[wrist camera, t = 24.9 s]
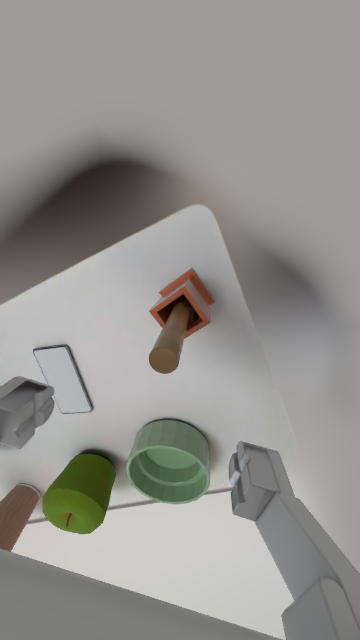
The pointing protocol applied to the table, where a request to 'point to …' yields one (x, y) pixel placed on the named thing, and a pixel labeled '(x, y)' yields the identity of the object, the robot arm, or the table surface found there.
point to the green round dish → (170, 462)
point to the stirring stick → (171, 338)
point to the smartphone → (63, 379)
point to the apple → (80, 494)
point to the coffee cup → (16, 513)
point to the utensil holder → (194, 294)
